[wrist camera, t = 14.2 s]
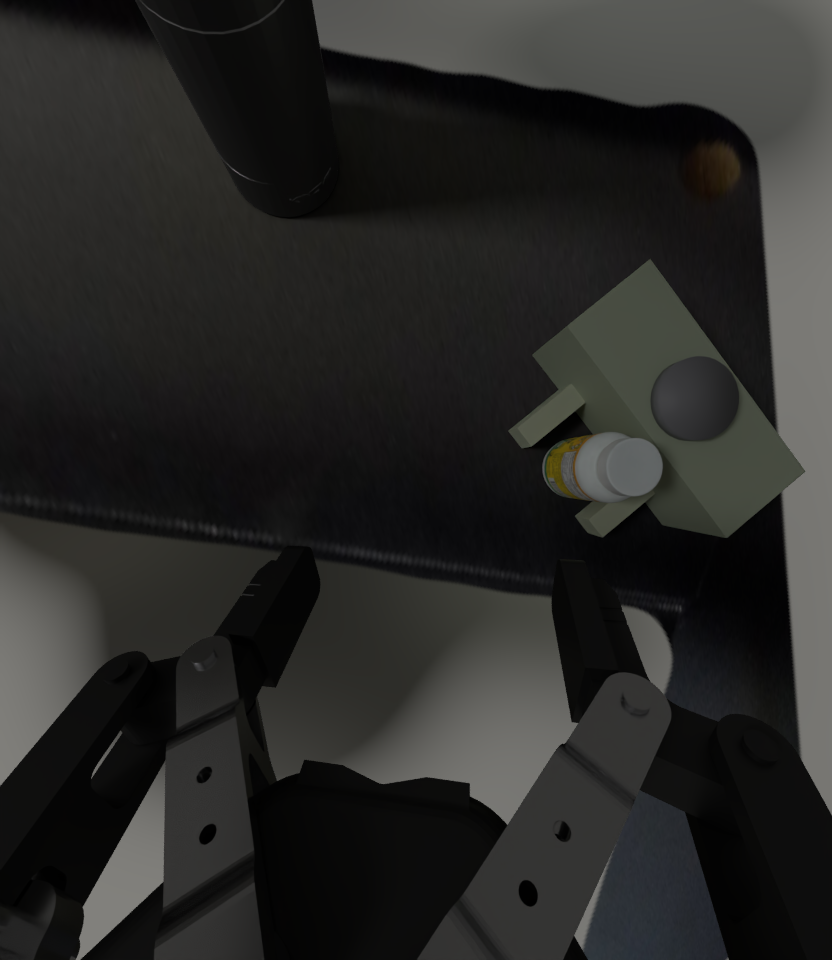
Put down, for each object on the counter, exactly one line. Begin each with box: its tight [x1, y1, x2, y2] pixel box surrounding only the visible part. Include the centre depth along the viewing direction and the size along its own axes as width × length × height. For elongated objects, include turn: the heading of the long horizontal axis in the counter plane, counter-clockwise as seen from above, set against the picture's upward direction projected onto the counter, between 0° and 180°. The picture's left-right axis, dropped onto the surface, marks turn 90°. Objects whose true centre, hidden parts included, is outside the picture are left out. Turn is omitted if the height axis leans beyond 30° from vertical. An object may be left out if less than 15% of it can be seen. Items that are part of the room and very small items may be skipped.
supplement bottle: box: [543, 432, 663, 503], centre depth 31 cm, size 5×5×10 cm
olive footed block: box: [509, 259, 805, 538], centre depth 32 cm, size 20×14×8 cm
